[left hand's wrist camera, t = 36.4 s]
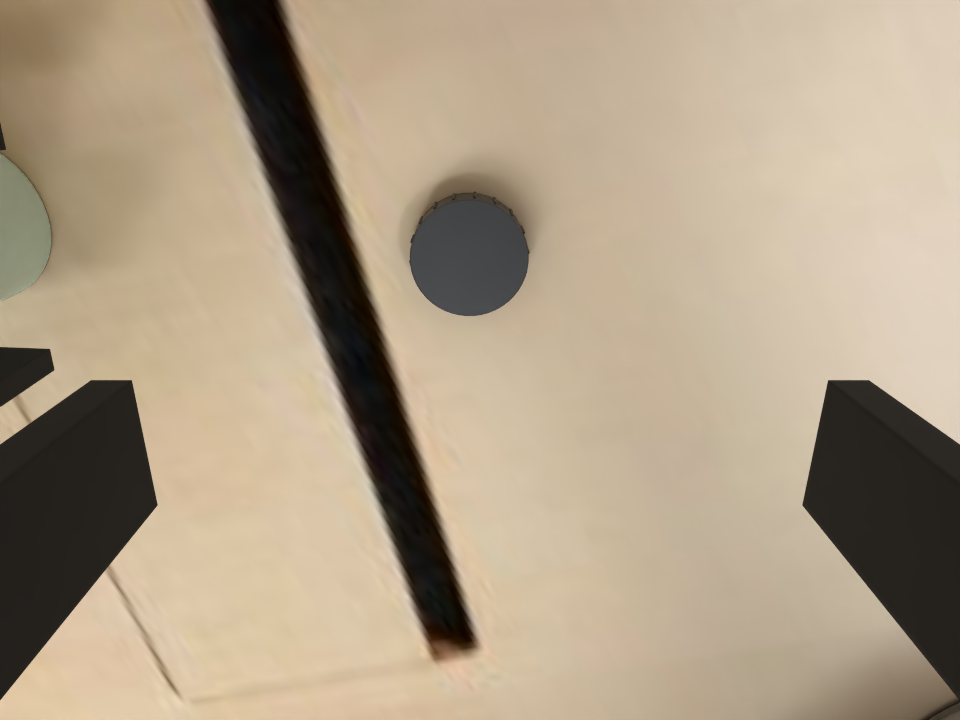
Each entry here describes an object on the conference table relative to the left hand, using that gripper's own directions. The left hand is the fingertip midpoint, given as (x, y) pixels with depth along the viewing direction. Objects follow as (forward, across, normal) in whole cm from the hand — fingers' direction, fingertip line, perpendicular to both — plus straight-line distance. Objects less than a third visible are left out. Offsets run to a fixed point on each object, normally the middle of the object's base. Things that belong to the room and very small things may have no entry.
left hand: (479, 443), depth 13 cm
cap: (+12, 0, -1) cm, 13 cm away
